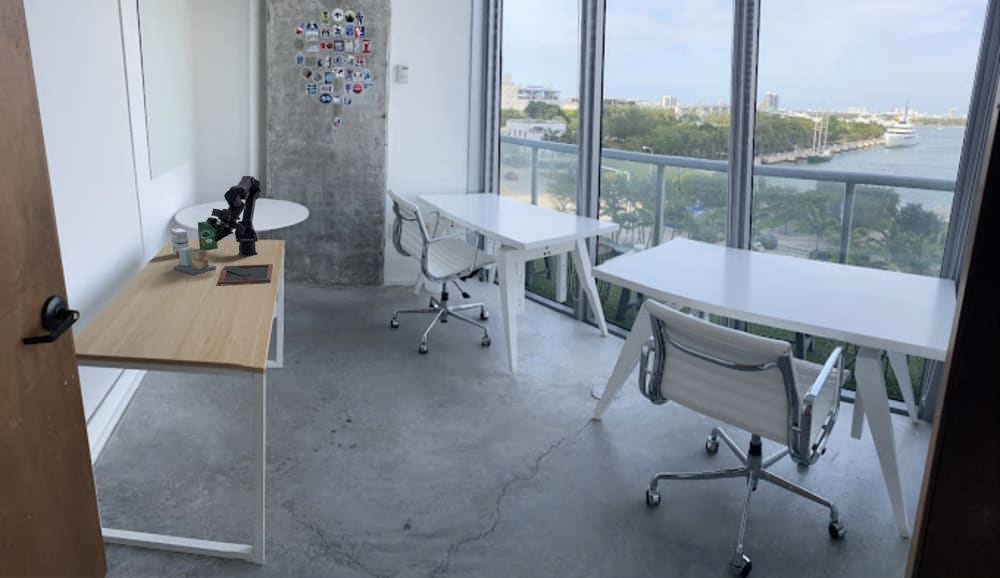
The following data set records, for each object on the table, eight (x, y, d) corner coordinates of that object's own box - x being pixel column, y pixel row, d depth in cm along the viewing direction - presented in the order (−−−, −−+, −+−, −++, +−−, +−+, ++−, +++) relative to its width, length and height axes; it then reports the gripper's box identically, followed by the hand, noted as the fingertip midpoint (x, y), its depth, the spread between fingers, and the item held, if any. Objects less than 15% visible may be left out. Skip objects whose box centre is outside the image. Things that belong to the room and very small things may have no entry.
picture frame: (224, 270, 318) (218, 286, 295) (224, 265, 318) (218, 281, 295) (272, 267, 323) (270, 283, 300) (272, 263, 323) (270, 279, 299)
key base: (194, 264, 323) (194, 261, 323) (215, 269, 316) (215, 266, 316) (173, 270, 315) (173, 266, 314) (194, 275, 308) (194, 271, 307)
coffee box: (217, 246, 354) (215, 220, 351) (218, 248, 352) (215, 221, 348) (199, 248, 351) (196, 221, 347) (200, 249, 348) (197, 222, 345)
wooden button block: (201, 265, 316) (199, 249, 314) (208, 266, 314) (206, 250, 312) (192, 267, 312) (190, 251, 310) (199, 269, 310) (197, 252, 308)
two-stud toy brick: (189, 262, 320) (187, 246, 318) (196, 264, 318) (194, 247, 315) (180, 264, 316) (178, 248, 314) (187, 266, 314) (185, 250, 312)
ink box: (190, 256, 337) (187, 231, 334) (178, 257, 334) (175, 232, 331) (184, 252, 343) (181, 227, 340) (173, 254, 340) (170, 229, 337)
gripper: (207, 198, 321) (188, 228, 315) (236, 203, 312) (217, 233, 306) (224, 213, 330) (205, 242, 324) (252, 218, 321) (234, 248, 315)
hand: (215, 241), depth 317 cm, fingers closed
